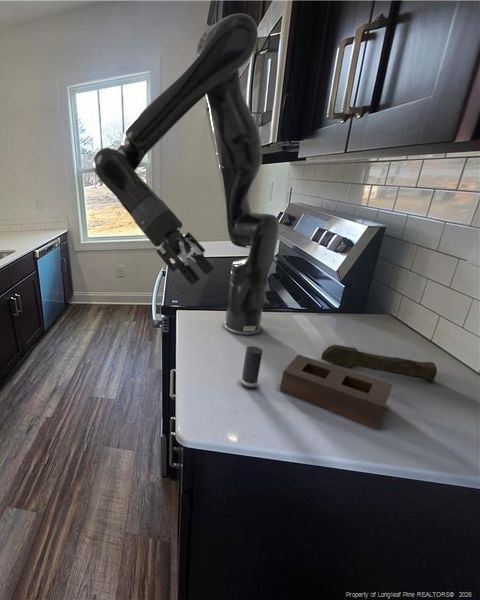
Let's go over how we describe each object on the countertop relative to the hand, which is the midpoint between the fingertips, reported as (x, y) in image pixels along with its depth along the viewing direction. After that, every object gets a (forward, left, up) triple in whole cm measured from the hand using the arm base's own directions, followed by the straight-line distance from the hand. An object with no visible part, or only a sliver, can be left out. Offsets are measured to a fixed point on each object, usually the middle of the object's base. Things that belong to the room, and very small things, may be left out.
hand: (203, 276), depth 68 cm
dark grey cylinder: (-2, +11, -23) cm, 26 cm away
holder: (-9, +24, -23) cm, 35 cm away
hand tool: (-26, +28, -23) cm, 45 cm away
